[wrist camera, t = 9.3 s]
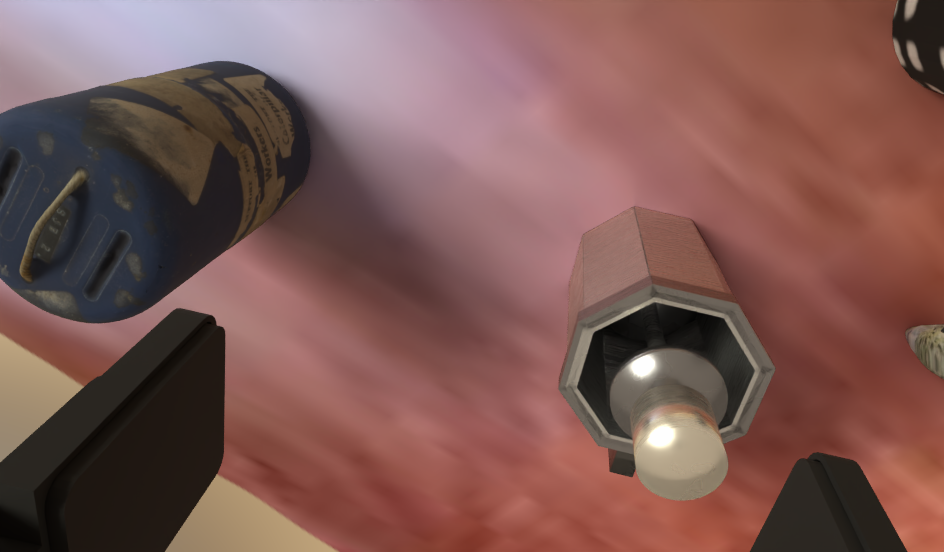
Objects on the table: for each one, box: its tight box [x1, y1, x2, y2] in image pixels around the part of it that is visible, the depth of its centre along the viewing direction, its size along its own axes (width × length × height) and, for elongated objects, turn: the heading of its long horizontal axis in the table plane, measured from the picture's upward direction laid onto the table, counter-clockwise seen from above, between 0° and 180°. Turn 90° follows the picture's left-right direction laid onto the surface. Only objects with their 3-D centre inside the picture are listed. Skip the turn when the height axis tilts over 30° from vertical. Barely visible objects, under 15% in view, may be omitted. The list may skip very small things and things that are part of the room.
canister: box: [0, 61, 310, 323], centre depth 34 cm, size 10×10×18 cm
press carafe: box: [559, 206, 776, 477], centre depth 37 cm, size 11×9×12 cm
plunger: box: [609, 302, 728, 500], centre depth 33 cm, size 6×6×16 cm
